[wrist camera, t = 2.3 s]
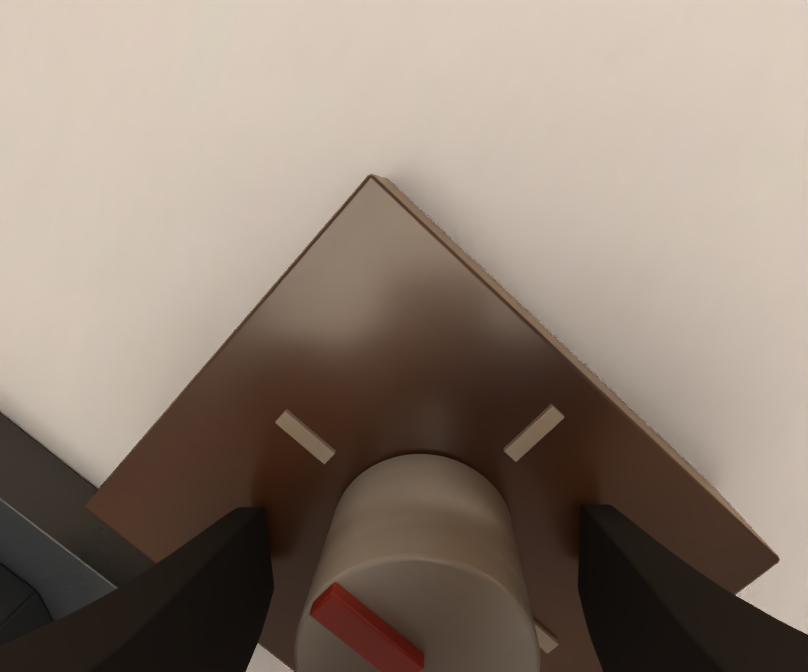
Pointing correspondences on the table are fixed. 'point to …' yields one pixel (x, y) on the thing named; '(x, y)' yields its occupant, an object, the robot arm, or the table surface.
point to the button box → (51, 540)
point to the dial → (418, 577)
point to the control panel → (412, 425)
